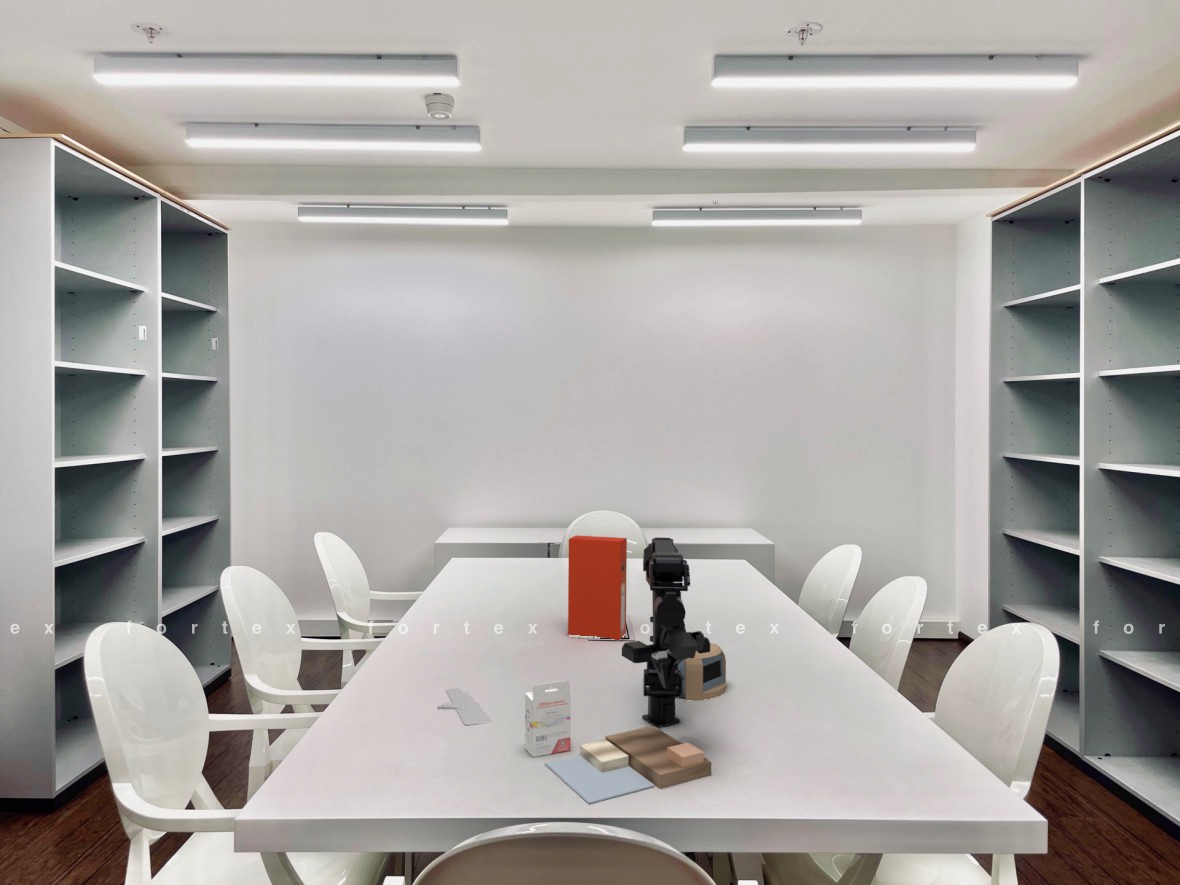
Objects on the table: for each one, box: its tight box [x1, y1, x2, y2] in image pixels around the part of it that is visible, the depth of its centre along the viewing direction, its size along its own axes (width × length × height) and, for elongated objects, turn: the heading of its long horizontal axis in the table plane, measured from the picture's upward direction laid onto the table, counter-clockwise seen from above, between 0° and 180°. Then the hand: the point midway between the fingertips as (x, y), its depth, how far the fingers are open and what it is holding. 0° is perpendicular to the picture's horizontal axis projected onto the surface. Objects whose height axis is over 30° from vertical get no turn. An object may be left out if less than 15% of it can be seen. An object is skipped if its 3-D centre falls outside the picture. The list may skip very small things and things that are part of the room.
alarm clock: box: [676, 642, 727, 701], centre depth 194 cm, size 19×20×12 cm
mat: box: [544, 754, 656, 805], centre depth 143 cm, size 18×14×1 cm
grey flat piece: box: [437, 687, 493, 726], centre depth 181 cm, size 25×24×1 cm
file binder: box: [567, 535, 628, 640], centre depth 241 cm, size 8×17×32 cm, turn 73°
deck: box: [604, 725, 712, 789], centre depth 150 cm, size 20×12×2 cm, turn 29°
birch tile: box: [579, 738, 629, 772], centre depth 149 cm, size 9×6×2 cm, turn 29°
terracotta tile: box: [667, 742, 705, 768], centre depth 144 cm, size 5×5×2 cm
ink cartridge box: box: [524, 679, 571, 758], centre depth 154 cm, size 9×5×15 cm, turn 114°
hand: (666, 688), depth 156 cm, fingers closed
